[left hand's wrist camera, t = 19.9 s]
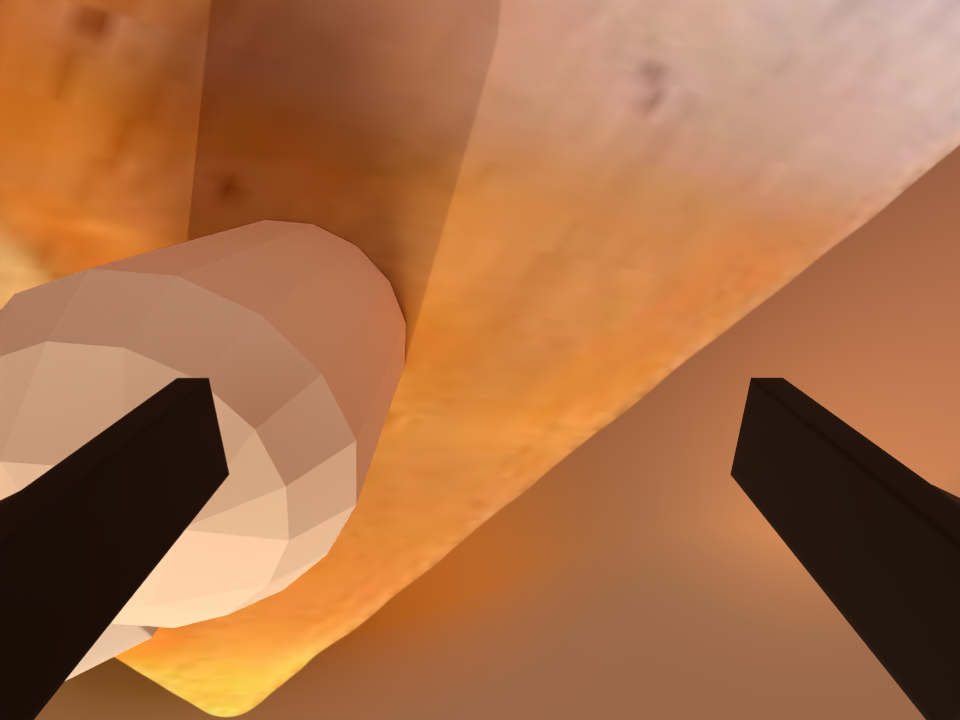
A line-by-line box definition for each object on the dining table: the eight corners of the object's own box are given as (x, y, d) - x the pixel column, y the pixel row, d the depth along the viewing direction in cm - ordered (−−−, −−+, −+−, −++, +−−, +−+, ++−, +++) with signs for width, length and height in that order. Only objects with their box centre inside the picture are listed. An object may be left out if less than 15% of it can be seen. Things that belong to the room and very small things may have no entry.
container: (424, 423, 50) (365, 705, 24) (216, 444, 51) (-57, 737, 25) (388, 205, 43) (245, 276, 17) (144, 233, 44) (-353, 342, 18)
